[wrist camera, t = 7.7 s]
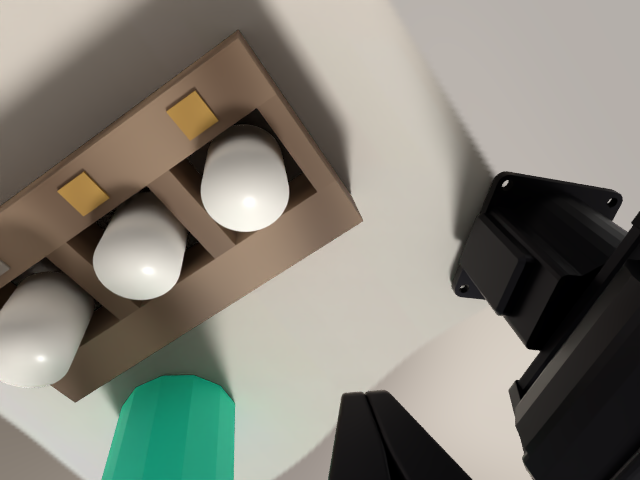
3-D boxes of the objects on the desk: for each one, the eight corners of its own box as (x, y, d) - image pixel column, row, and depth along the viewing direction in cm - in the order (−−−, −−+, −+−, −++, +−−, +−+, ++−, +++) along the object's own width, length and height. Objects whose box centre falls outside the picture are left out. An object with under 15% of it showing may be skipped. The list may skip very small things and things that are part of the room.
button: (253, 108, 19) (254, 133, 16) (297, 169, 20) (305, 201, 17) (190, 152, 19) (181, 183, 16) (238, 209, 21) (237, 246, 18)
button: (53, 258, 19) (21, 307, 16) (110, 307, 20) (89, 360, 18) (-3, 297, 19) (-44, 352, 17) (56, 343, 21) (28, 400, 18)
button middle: (155, 178, 19) (140, 212, 17) (203, 231, 21) (197, 272, 18) (97, 218, 20) (74, 259, 17) (149, 268, 21) (135, 312, 19)
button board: (238, 29, 18) (237, 38, 15) (351, 195, 21) (363, 222, 19) (-58, 249, 20) (-96, 284, 18) (90, 363, 24) (74, 404, 22)
